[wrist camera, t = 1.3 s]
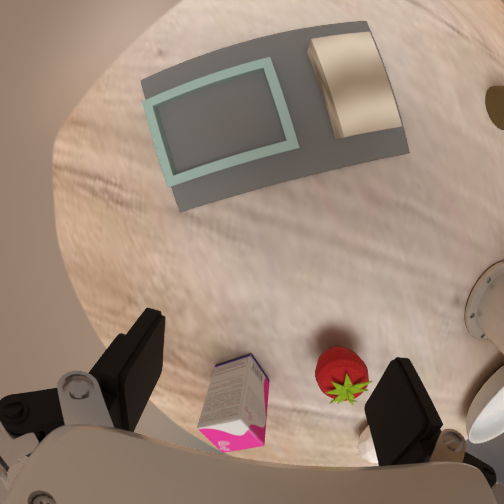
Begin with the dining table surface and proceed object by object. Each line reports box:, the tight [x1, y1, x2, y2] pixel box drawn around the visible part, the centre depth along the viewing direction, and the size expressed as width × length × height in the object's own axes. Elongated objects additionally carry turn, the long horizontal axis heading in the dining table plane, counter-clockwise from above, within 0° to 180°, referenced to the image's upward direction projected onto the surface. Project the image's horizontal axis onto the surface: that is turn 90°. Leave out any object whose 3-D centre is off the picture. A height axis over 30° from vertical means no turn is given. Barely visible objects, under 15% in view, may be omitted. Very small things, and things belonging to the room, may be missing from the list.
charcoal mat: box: [141, 21, 410, 212], centre depth 28 cm, size 26×16×1 cm, turn 107°
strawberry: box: [315, 347, 372, 405], centre depth 32 cm, size 6×8×10 cm
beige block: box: [307, 32, 402, 139], centre depth 24 cm, size 10×6×4 cm, turn 16°
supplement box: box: [197, 354, 269, 453], centre depth 33 cm, size 6×6×12 cm
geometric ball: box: [358, 425, 378, 463], centre depth 38 cm, size 8×8×8 cm
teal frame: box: [142, 57, 299, 188], centre depth 28 cm, size 14×10×1 cm
